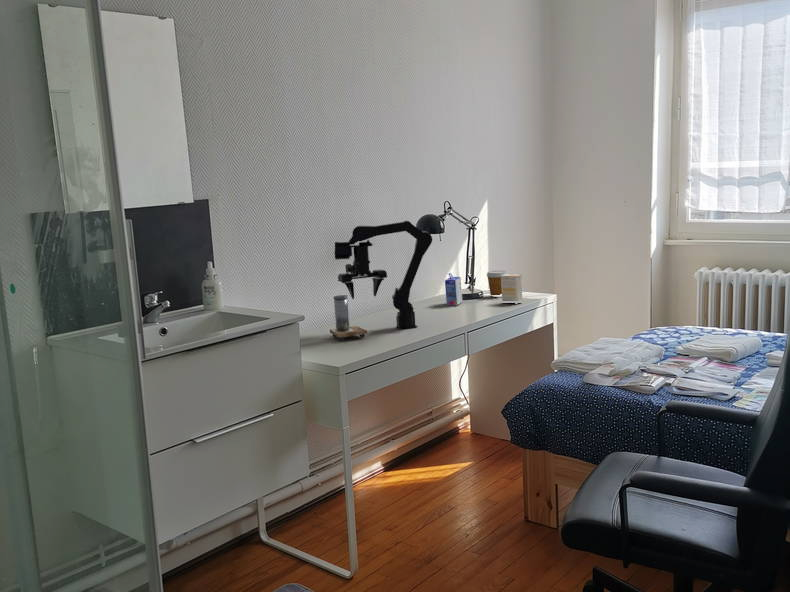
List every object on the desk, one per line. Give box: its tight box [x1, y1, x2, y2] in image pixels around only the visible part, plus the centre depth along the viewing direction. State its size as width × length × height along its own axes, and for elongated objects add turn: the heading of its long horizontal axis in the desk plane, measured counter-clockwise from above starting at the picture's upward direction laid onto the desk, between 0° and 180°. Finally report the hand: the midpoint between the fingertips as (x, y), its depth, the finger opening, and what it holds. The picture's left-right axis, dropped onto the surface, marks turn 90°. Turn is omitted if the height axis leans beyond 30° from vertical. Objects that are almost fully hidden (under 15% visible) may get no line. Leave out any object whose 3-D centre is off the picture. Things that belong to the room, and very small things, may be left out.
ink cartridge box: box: [444, 272, 463, 306], centre depth 347 cm, size 10×6×14 cm, turn 161°
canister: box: [333, 294, 350, 332], centre depth 285 cm, size 5×5×13 cm
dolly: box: [329, 325, 368, 342], centre depth 286 cm, size 11×11×3 cm
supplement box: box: [501, 273, 523, 301], centre depth 340 cm, size 8×5×13 cm, turn 49°
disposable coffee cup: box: [486, 270, 507, 296], centre depth 361 cm, size 10×10×12 cm
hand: (363, 297), depth 298 cm, fingers open, 9 cm apart
